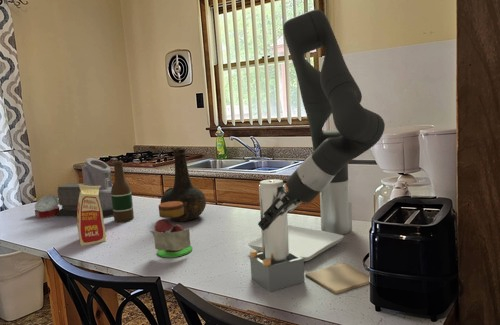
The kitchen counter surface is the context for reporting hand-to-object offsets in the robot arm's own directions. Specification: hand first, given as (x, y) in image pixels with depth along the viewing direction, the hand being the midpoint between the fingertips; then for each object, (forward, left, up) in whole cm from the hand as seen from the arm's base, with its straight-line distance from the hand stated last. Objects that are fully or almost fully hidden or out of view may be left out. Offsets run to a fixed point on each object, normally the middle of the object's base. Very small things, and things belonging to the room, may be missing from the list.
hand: (268, 222), depth 104 cm
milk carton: (+35, -64, -15) cm, 74 cm away
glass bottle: (0, -70, -15) cm, 71 cm away
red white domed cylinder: (+49, -115, -15) cm, 126 cm away
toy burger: (+15, -35, -15) cm, 41 cm away
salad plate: (-17, -15, -15) cm, 27 cm away
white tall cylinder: (-1, +1, -15) cm, 15 cm away
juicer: (+31, -105, -15) cm, 111 cm away
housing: (-1, +1, -14) cm, 15 cm away
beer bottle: (+21, -84, -15) cm, 88 cm away
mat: (-14, +9, -14) cm, 22 cm away
